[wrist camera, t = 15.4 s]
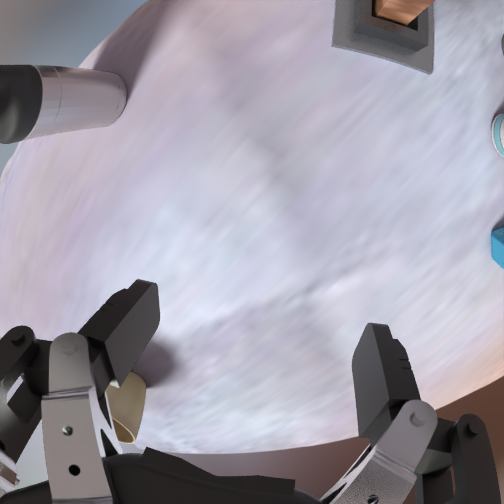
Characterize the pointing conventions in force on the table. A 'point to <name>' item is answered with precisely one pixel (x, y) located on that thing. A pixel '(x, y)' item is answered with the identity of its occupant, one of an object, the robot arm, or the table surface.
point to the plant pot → (127, 407)
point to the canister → (503, 44)
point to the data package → (498, 246)
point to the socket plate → (384, 35)
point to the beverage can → (498, 133)
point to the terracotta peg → (399, 10)
